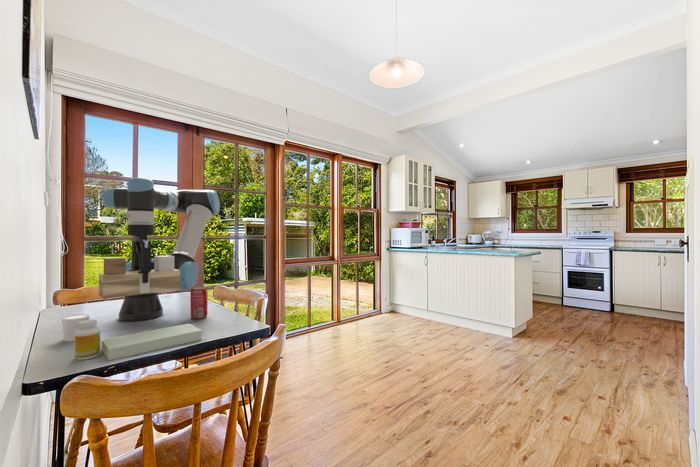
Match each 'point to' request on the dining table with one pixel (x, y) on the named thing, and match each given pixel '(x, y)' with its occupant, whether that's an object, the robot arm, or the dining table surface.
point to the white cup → (72, 326)
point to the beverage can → (199, 302)
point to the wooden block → (137, 283)
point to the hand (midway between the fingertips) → (141, 290)
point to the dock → (149, 341)
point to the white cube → (163, 263)
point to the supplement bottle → (87, 340)
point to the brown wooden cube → (114, 266)
